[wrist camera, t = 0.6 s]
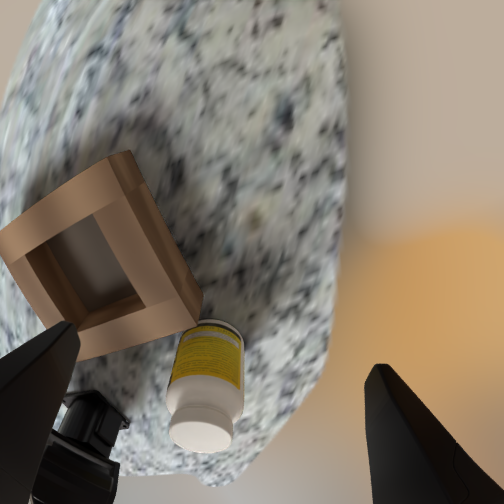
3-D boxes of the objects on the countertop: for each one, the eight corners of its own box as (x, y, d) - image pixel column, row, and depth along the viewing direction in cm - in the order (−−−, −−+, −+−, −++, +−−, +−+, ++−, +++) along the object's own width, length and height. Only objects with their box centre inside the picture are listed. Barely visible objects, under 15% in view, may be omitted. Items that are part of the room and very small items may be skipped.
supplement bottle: (171, 322, 25) (143, 415, 16) (235, 311, 25) (232, 409, 16) (191, 369, 27) (176, 459, 18) (250, 361, 27) (253, 455, 18)
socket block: (89, 335, 26) (72, 363, 22) (19, 220, 21) (-9, 238, 18) (203, 295, 24) (197, 326, 20) (129, 149, 20) (106, 157, 16)
